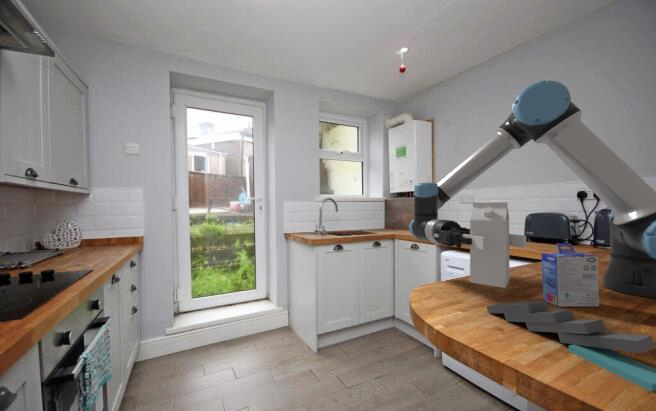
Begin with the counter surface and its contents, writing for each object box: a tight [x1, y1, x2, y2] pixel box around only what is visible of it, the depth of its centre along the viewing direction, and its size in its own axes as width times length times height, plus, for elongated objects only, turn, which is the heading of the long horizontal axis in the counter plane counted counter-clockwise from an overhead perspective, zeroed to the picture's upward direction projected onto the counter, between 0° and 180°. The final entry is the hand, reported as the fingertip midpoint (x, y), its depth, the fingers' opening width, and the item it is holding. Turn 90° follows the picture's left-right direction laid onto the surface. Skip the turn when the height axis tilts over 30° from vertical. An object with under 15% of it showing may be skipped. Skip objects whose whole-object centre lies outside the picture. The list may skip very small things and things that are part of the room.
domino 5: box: [568, 344, 656, 393], centre depth 41 cm, size 2×5×10 cm
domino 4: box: [557, 330, 656, 354], centre depth 44 cm, size 2×5×10 cm
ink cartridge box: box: [541, 242, 600, 308], centre depth 67 cm, size 10×6×14 cm, turn 89°
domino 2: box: [503, 309, 576, 323], centre depth 53 cm, size 2×5×10 cm
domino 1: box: [486, 300, 550, 314], centre depth 57 cm, size 2×5×10 cm
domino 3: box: [524, 318, 607, 334], centre depth 49 cm, size 2×5×10 cm
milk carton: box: [469, 201, 511, 289], centre depth 64 cm, size 7×7×19 cm
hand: (504, 242), depth 60 cm, fingers closed on milk carton, 10 cm apart
